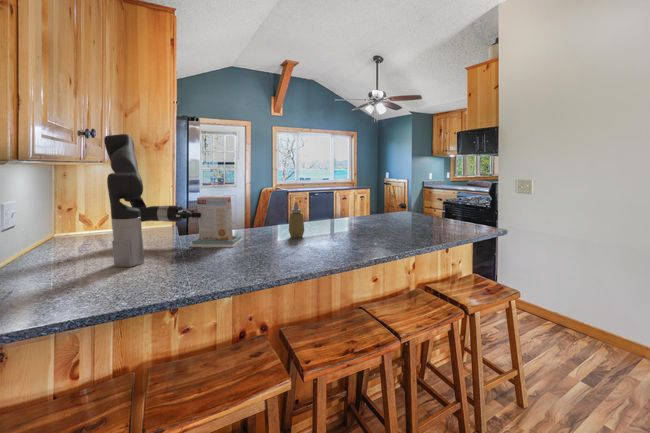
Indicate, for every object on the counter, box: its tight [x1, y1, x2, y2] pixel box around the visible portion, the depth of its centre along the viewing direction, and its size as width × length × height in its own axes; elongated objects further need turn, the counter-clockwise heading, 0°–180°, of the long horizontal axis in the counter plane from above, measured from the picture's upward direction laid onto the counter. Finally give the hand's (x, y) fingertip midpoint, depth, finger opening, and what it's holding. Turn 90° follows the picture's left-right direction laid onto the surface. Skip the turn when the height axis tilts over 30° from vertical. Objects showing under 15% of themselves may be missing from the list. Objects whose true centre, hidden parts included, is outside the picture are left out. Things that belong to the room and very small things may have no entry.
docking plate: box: [189, 235, 244, 248], centre depth 157 cm, size 14×20×2 cm
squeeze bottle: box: [288, 201, 305, 239], centre depth 170 cm, size 8×8×18 cm
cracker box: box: [196, 196, 234, 241], centre depth 156 cm, size 14×6×21 cm, turn 85°
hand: (204, 213), depth 155 cm, fingers open, 8 cm apart
